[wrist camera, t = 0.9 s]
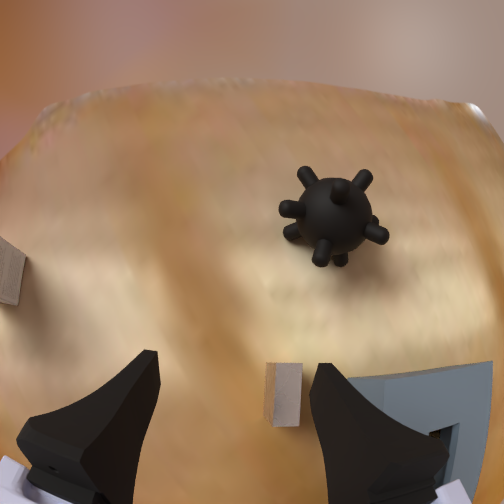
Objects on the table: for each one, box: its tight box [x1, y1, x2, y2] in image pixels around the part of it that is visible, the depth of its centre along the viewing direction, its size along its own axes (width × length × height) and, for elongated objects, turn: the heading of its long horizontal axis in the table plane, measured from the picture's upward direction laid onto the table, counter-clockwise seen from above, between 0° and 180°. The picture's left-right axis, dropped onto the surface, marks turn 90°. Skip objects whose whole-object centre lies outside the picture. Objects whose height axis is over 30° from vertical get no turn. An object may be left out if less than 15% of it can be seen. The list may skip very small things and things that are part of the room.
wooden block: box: [263, 363, 302, 427], centre depth 22 cm, size 5×2×5 cm, turn 177°
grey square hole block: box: [348, 361, 493, 503], centre depth 19 cm, size 18×14×7 cm
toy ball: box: [279, 166, 389, 267], centre depth 26 cm, size 10×10×11 cm
